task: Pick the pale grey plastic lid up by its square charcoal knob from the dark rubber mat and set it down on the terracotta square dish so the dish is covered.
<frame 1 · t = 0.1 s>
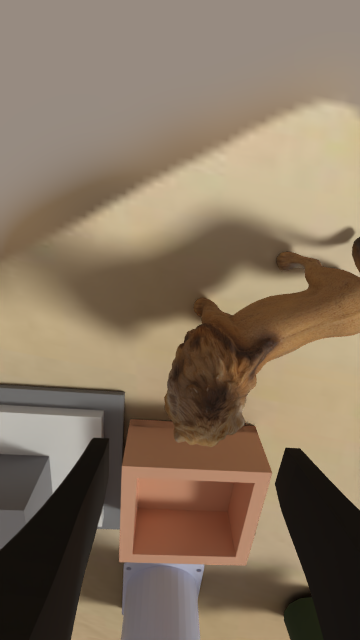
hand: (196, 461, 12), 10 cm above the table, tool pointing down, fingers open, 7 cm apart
lid: (29, 465, 25), resting on mat
character mug: (307, 602, 35), on the table
lion figurine: (253, 305, 21), on the table
mat: (31, 461, 25), on the table
dish: (186, 468, 26), on the table
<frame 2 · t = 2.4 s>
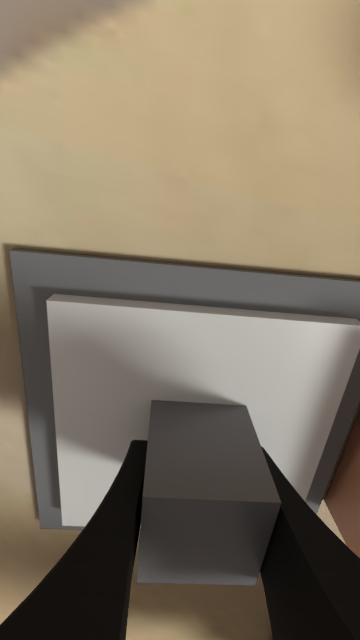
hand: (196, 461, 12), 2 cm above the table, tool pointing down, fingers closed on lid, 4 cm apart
lid: (192, 427, 14), resting on mat, touching gripper
mat: (192, 421, 15), on the table
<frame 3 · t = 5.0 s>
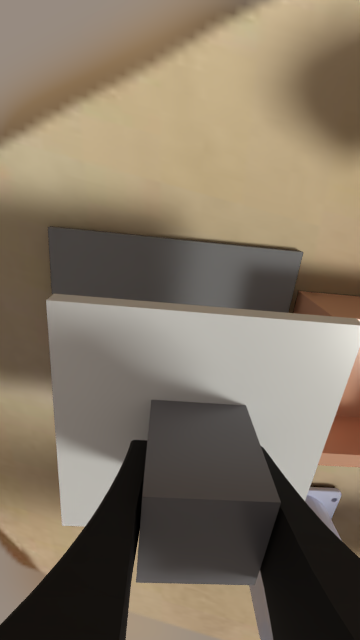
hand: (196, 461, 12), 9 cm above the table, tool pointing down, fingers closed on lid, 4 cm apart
lid: (192, 426, 14), point 7 cm above the table, touching gripper
mat: (168, 350, 21), on the table
dish: (349, 363, 22), on the table
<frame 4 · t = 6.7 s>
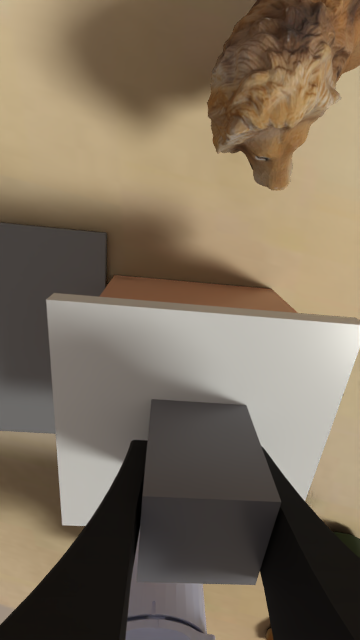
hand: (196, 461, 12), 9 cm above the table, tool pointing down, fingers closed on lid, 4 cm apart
lid: (192, 426, 14), point 7 cm above the table, touching gripper
character mug: (326, 543, 30), on the table
lion figurine: (310, 78, 16), on the table
dish: (186, 352, 21), on the table
when the fingers open (7 cm above the table, at t = 8.0 s): lid stays where it is, resting on dish.
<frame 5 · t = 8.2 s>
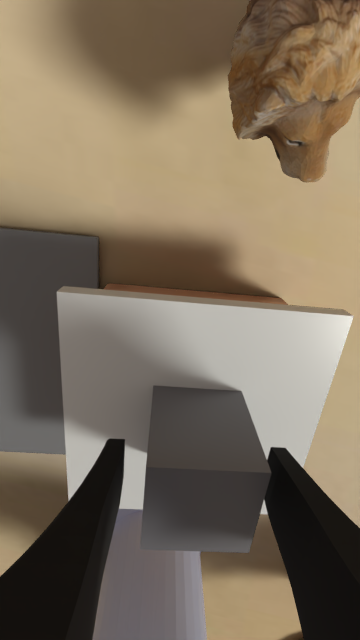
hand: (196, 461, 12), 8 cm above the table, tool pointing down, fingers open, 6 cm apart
lid: (191, 412, 15), point 4 cm above the table, touching dish
lion figurine: (336, 57, 14), on the table
dish: (186, 366, 19), on the table
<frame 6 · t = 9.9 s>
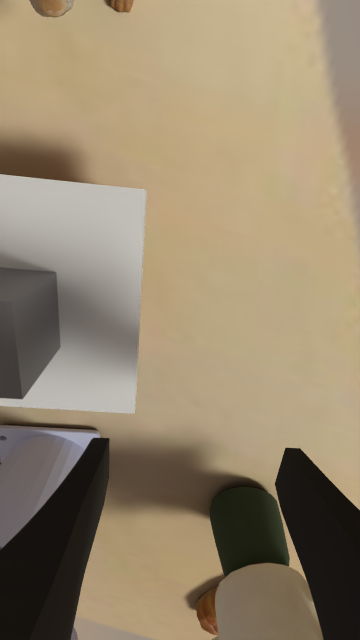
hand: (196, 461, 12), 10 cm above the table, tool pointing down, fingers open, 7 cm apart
lid: (24, 303, 16), point 4 cm above the table, touching dish
character mug: (241, 501, 29), on the table
pastry: (241, 589, 34), on the table
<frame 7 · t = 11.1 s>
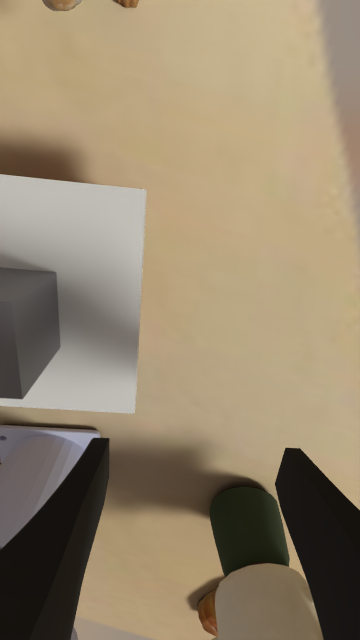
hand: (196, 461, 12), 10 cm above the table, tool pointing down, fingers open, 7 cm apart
lid: (24, 303, 16), point 4 cm above the table, touching dish
character mug: (241, 501, 29), on the table
pastry: (243, 590, 34), on the table
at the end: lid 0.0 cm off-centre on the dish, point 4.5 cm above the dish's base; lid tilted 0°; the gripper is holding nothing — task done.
